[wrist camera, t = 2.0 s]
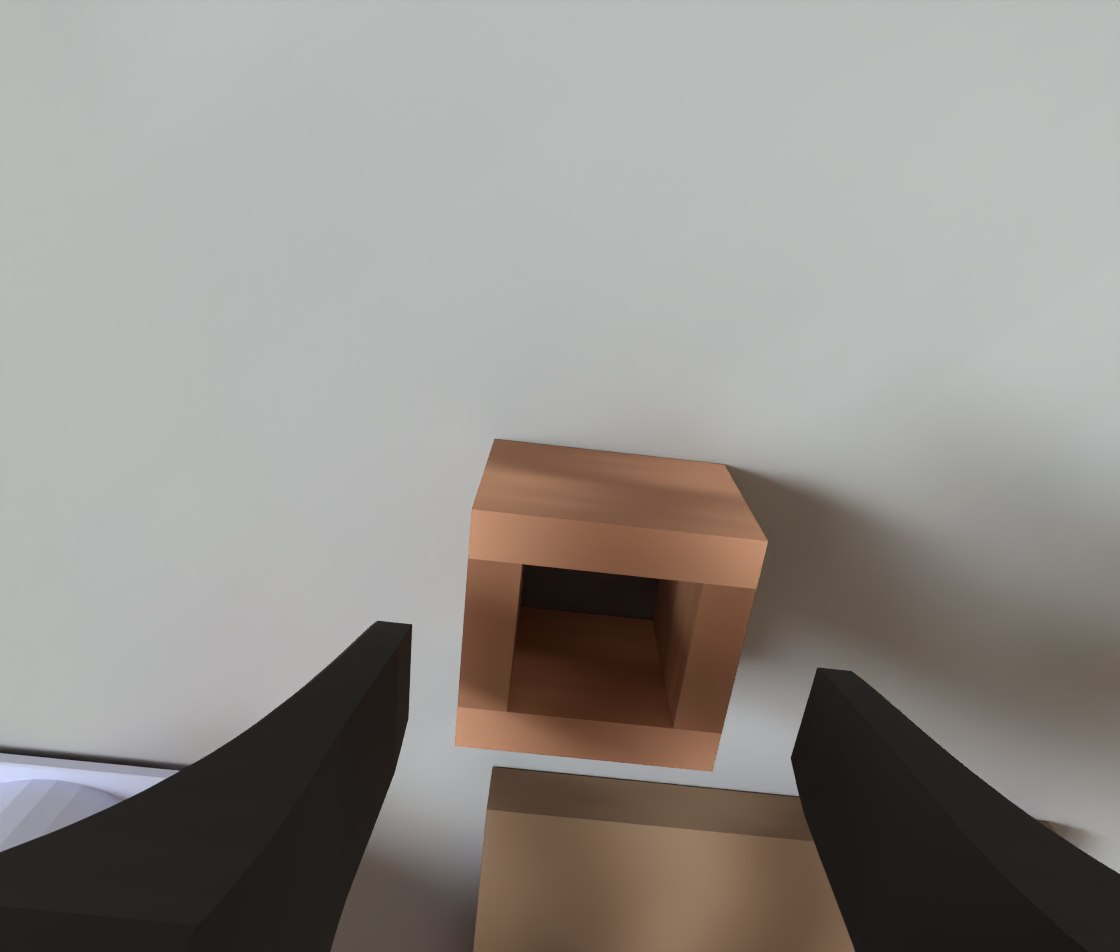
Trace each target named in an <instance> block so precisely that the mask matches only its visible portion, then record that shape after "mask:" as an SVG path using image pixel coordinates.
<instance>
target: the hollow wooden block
mask: <svg viewBox="0 0 1120 952" xmlns="http://www.w3.org/2000/svg"><path fill="white" fill-rule="evenodd" d="M767 544H768V540H767V538H766V537H765V535H764V533H763V531H762V530H761V528H760V526H759V524H758V523H757V521H756V519H755V517H754V516H753V514H752V512H751V510H750V509H749V507H748V505H747V503H746V502H745V500H744V498H743V496H742V494H741V493H740V491H739V489H738V487H737V486H736V484H735V482H734V480H733V479H732V477H731V475H730V473H729V472H728V470H727V468H726V466H725V465H724V464H715V463H706V462H697V461H688V460H679V459H670V458H661V457H652V456H643V455H634V454H625V453H615V452H606V451H597V450H588V449H579V448H570V447H561V446H552V445H543V444H534V443H525V442H516V441H507V440H498V439H494V442H493V445H492V448H491V452H490V455H489V458H488V461H487V464H486V467H485V470H484V473H483V476H482V479H481V482H480V485H479V489H478V492H477V495H476V498H475V501H474V504H473V507H472V513H471V527H470V541H469V555H468V569H467V583H466V597H465V611H464V624H463V638H462V652H461V666H460V680H459V694H458V708H457V722H456V735H455V746H461V747H471V748H481V749H491V750H501V751H511V752H521V753H531V754H541V755H551V756H561V757H571V758H581V759H591V760H601V761H611V762H621V763H631V764H641V765H651V766H661V767H671V768H681V769H691V770H701V771H711V772H712V771H713V767H714V762H715V758H716V754H717V750H718V746H719V742H720V738H721V734H722V729H723V725H724V721H725V717H726V713H727V709H728V705H729V701H730V696H731V692H732V688H733V684H734V680H735V676H736V672H737V668H738V664H739V659H740V655H741V651H742V647H743V643H744V639H745V635H746V631H747V626H748V622H749V618H750V614H751V610H752V606H753V602H754V598H755V593H756V589H757V585H758V581H759V577H760V573H761V569H762V565H763V560H764V556H765V552H766V548H767ZM525 564H526V565H535V566H544V567H554V568H563V569H573V570H582V571H592V572H601V573H610V574H620V575H629V576H639V577H648V578H657V579H660V582H659V588H658V593H657V599H656V604H655V609H654V615H653V620H645V619H635V618H626V617H616V616H607V615H597V614H588V613H578V612H568V611H559V610H549V609H540V608H530V607H521V606H520V605H521V595H522V586H523V576H524V567H525Z"/></svg>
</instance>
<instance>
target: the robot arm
mask: <svg viewBox="0 0 1120 952" xmlns="http://www.w3.org/2000/svg"><path fill="white" fill-rule="evenodd" d="M411 640H412V624H403V623H393V622H384V621H377V622H375V623H374V624H373V625H371V626H370V627H369V628H368V629H367V630H366V631H365V632H364V633H363V634H362V635H361V636H360V637H358V638H357V639H356V640H355V641H354V642H353V643H352V644H351V645H350V646H349V647H348V648H347V649H346V650H345V651H344V652H342V653H341V654H340V655H339V656H338V657H337V658H336V659H335V660H334V661H333V662H331V663H330V664H329V665H328V666H327V667H326V668H325V669H323V670H322V671H321V672H320V673H319V674H318V675H316V676H315V677H314V678H313V679H312V680H311V681H309V682H308V683H307V684H306V685H305V686H304V687H302V688H301V689H300V690H299V691H298V692H296V693H295V694H294V695H293V696H291V697H290V698H289V699H287V700H286V701H285V702H284V703H282V704H281V705H280V706H278V707H277V708H276V709H274V710H273V711H272V712H271V713H269V714H268V715H267V716H265V717H264V718H263V719H261V720H260V721H259V722H257V723H256V724H255V725H253V726H252V727H250V728H249V729H247V730H246V731H245V732H243V733H242V734H240V735H239V736H237V737H236V738H234V739H233V740H231V741H230V742H228V743H227V744H225V745H223V746H222V747H220V748H219V749H217V750H216V751H214V752H212V753H211V754H209V755H207V756H206V757H204V758H202V759H201V760H199V761H197V762H195V763H193V764H192V765H190V766H188V767H186V768H184V769H182V770H181V771H178V770H167V769H157V768H147V767H137V766H126V765H116V764H106V763H96V762H85V761H75V760H65V759H55V758H44V757H34V756H24V755H14V754H4V753H0V952H330V950H331V947H332V943H333V940H334V936H335V933H336V929H337V926H338V922H339V919H340V916H341V913H342V910H343V907H344V905H345V902H346V899H347V896H348V893H349V890H350V888H351V885H352V882H353V880H354V877H355V875H356V872H357V869H358V867H359V864H360V862H361V859H362V856H363V854H364V851H365V849H366V846H367V843H368V841H369V838H370V836H371V833H372V831H373V828H374V825H375V823H376V820H377V818H378V815H379V812H380V810H381V807H382V804H383V802H384V799H385V797H386V794H387V791H388V789H389V786H390V783H391V781H392V778H393V775H394V773H395V769H396V765H397V761H398V758H399V754H400V750H401V746H402V742H403V738H404V734H405V730H406V726H407V722H408V714H409V689H410V664H411ZM791 761H792V766H793V770H794V775H795V779H796V784H797V789H798V793H799V797H800V801H801V805H802V809H803V813H804V816H805V819H806V821H807V824H808V827H809V830H810V832H811V835H812V838H813V841H814V843H815V846H816V849H817V851H818V854H819V857H820V860H821V862H822V865H823V867H824V870H825V873H826V875H827V878H828V881H829V883H830V886H831V888H832V891H833V894H834V896H835V899H836V902H837V904H838V907H839V910H840V912H841V915H842V917H843V920H844V923H845V925H846V928H847V931H848V933H849V936H850V939H851V941H852V944H853V947H854V950H855V952H1120V874H1119V873H1117V872H1115V871H1114V870H1112V869H1110V868H1109V867H1107V866H1105V865H1104V864H1102V863H1100V862H1099V861H1097V860H1096V859H1094V858H1093V857H1091V856H1089V855H1088V854H1086V853H1085V852H1083V851H1082V850H1080V849H1078V848H1077V847H1075V846H1074V845H1072V844H1071V843H1069V842H1068V841H1066V840H1065V839H1064V838H1062V837H1061V836H1059V835H1058V834H1056V833H1055V832H1053V831H1052V830H1050V829H1049V828H1047V827H1046V826H1044V825H1043V824H1042V823H1040V822H1039V821H1037V820H1036V819H1034V818H1033V817H1031V816H1030V815H1028V814H1027V813H1026V812H1024V811H1023V810H1022V809H1020V808H1019V807H1017V806H1016V805H1015V804H1013V803H1012V802H1011V801H1009V800H1008V799H1006V798H1005V797H1004V796H1003V795H1001V794H1000V793H999V792H997V791H996V790H995V789H994V788H992V787H991V786H990V785H988V784H987V783H986V782H984V781H983V780H982V779H981V778H979V777H978V776H977V775H975V774H974V773H973V772H972V771H970V770H969V769H968V768H967V767H965V766H964V765H963V764H962V763H960V762H959V761H958V760H957V759H956V758H954V757H953V756H952V755H951V754H949V753H948V752H947V751H946V750H945V749H943V748H942V747H941V746H940V745H939V744H938V743H936V742H935V741H934V740H933V739H932V738H930V737H929V736H928V735H927V734H926V733H925V732H923V731H922V730H921V729H920V728H919V727H918V726H916V725H915V724H914V723H913V722H912V721H911V720H909V719H908V718H907V717H906V716H905V715H904V714H903V713H901V712H900V711H899V710H898V709H897V708H896V707H894V706H893V705H892V704H891V703H890V702H889V701H888V700H886V699H885V698H884V697H883V696H882V695H881V694H879V693H878V692H877V691H876V690H875V689H873V688H872V687H871V686H870V685H869V684H867V683H866V682H865V681H864V680H862V679H861V678H860V677H859V676H857V675H856V674H855V673H853V672H852V671H845V670H836V669H826V668H817V671H816V674H815V678H814V681H813V684H812V688H811V691H810V695H809V698H808V701H807V705H806V708H805V712H804V715H803V718H802V722H801V725H800V728H799V732H798V735H797V739H796V742H795V745H794V749H793V752H792V756H791Z"/></svg>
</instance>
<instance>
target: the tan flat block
mask: <svg viewBox="0 0 1120 952" xmlns="http://www.w3.org/2000/svg"><path fill="white" fill-rule="evenodd" d="M1039 822H1040V823H1042V824H1043V825H1044V826H1046V827H1047V828H1049V829H1050V830H1052V831H1053V832H1055V831H1054V830H1053V828H1052V827H1051V826H1050V825H1049V823H1048V822H1043V821H1039ZM1055 833H1056V832H1055ZM473 952H855V950H854V947H853V944H852V941H851V939H850V936H849V933H848V931H847V928H846V925H845V923H844V920H843V917H842V915H841V912H840V910H839V907H838V904H837V902H836V899H835V896H834V894H833V891H832V888H831V886H830V883H829V881H828V878H827V875H826V873H825V870H824V867H823V865H822V862H821V860H820V857H819V854H818V851H817V849H816V846H815V843H814V841H813V838H812V835H811V832H810V830H809V827H808V824H807V821H806V819H805V816H804V813H803V809H802V805H801V801H800V797H791V796H780V795H770V794H760V793H750V792H740V791H730V790H720V789H710V788H700V787H689V786H679V785H669V784H659V783H649V782H639V781H629V780H619V779H609V778H598V777H588V776H578V775H568V774H558V773H548V772H538V771H528V770H518V769H508V768H497V767H493V769H492V776H491V783H490V790H489V797H488V804H487V812H486V823H485V833H484V843H483V854H482V864H481V874H480V885H479V895H478V905H477V916H476V926H475V936H474V947H473Z"/></svg>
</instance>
